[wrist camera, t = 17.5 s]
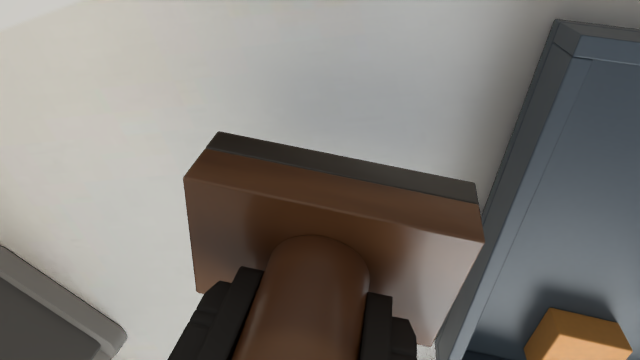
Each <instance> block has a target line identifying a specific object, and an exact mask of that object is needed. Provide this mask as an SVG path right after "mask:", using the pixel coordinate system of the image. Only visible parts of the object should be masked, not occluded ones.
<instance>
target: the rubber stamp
mask: <svg viewBox="0 0 640 360" xmlns="http://www.w3.org/2000/svg"><path fill="white" fill-rule="evenodd" d="M183 182H184V190H185V199H186V207H187V216H188V224H189V232H190V241H191V249H192V258H193V266H194V274H195V283H196V291H197V292H198V293H202V294H205V292H206V291H207V290H209V289H210V288H211V287H212V286H213V285H215V284H216V283H217V282H218V281H225V282H230V283H232V282H233V280H234V278H235V276H236V274H237V272H238V270H239V268H240V267H241V266H244V267H249V268H254V269H259V270H264V274H263V276H262V279H261V282H260V284H259V287H258V290H257V292H256V295H255V297H254V300H253V303H252V305H251V308H250V311H249V313H248V316H247V318H246V321H245V324H244V326H243V329H242V332H241V334H240V337H239V339H238V342H237V345H236V347H235V350H234V352H233V355H232V358H231V360H359V358H360V350H361V342H362V333H363V325H364V317H365V309H366V300H367V292H372V293H377V294H382V295H387V296H392V297H393V306H392V316H394V317H399V318H404V319H409V322H410V324H411V326H412V328H413V330H414V332H415V335H416V340H417V344H419V345H423V346H428V347H431V346H432V344H433V342H434V340H435V338H436V336H437V334H438V332H439V330H440V328H441V326H442V324H443V323H444V321H445V319H446V317H447V315H448V313H449V311H450V309H451V307H452V305H453V303H454V301H455V299H456V298H457V296H458V294H459V292H460V290H461V288H462V286H463V284H464V282H465V280H466V278H467V276H468V274H469V272H470V271H471V269H472V267H473V265H474V263H475V261H476V259H477V257H478V255H479V253H480V251H481V249H482V247H483V245H484V244H485V237H484V232H483V226H482V220H481V214H480V209H479V205H478V204H479V202H478V197H477V191H476V185H475V183H473V182H468V181H463V180H458V179H453V178H448V177H443V176H438V175H433V174H428V173H423V172H418V171H413V170H408V169H403V168H398V167H393V166H388V165H383V164H379V163H374V162H369V161H364V160H359V159H354V158H349V157H344V156H339V155H334V154H329V153H324V152H319V151H314V150H309V149H304V148H299V147H294V146H289V145H284V144H279V143H274V142H269V141H264V140H259V139H255V138H250V137H245V136H240V135H235V134H230V133H225V132H220V131H219V132H217V133H216V135H215V136H214V137H213V139H212V140H211V141H210V143H209V144H208V145H207V146H206V149H204V151H203V152H202V153H201V155H200V156H199V157H198V159H197V160H196V161H195V163H194V164H193V165H192V166H191V168H190V169H189V170H188V172H187V173H186V174H185V176H184V177H183Z"/></svg>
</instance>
